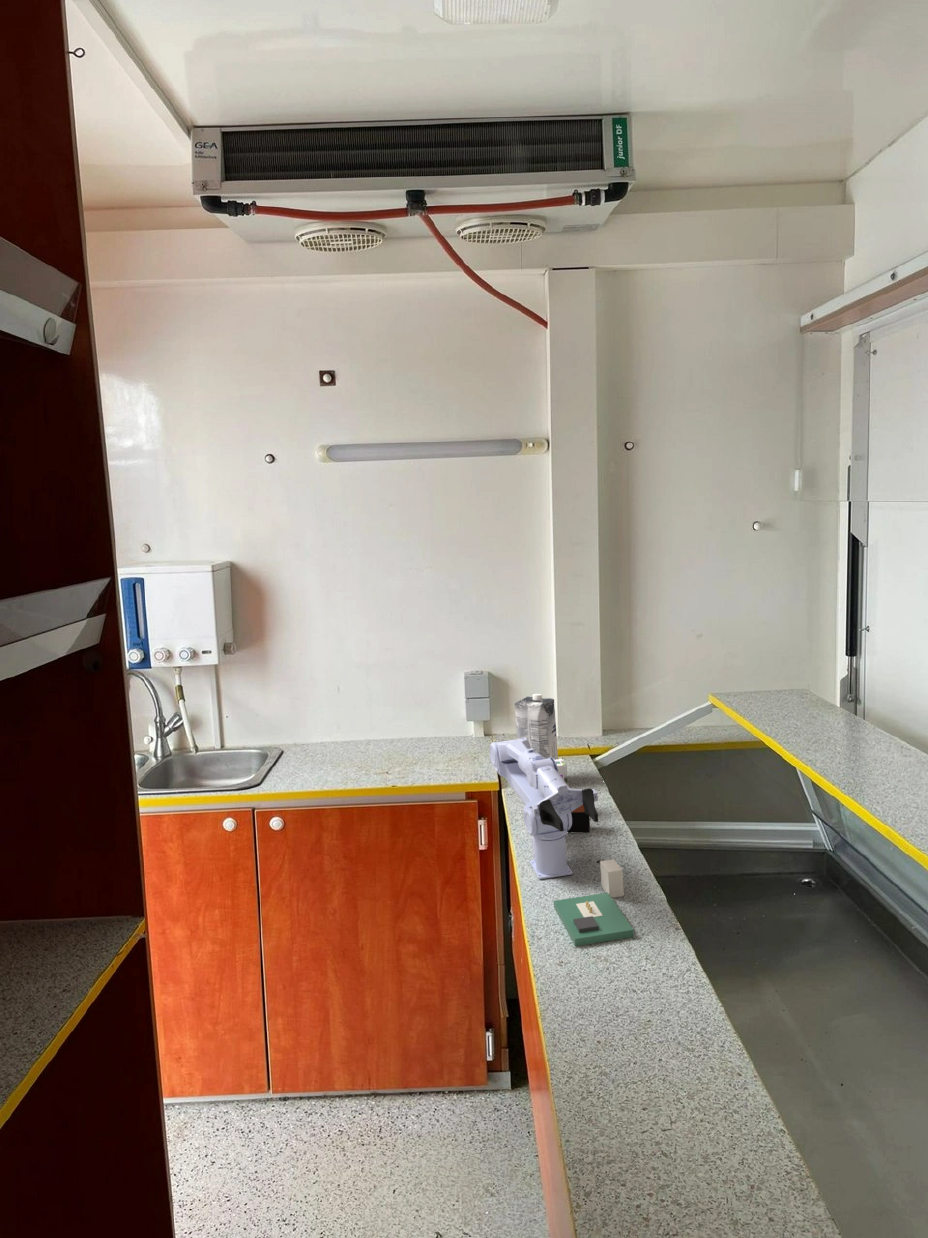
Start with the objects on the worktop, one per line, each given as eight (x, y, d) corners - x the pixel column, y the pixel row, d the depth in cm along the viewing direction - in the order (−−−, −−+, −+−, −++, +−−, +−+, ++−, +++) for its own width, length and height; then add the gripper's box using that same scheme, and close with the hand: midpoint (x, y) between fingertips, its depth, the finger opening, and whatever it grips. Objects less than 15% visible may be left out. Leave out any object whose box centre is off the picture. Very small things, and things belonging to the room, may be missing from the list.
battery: (590, 833, 223) (588, 795, 221) (563, 834, 224) (561, 796, 222) (590, 826, 227) (588, 789, 225) (563, 827, 228) (561, 790, 226)
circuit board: (553, 907, 187) (553, 895, 186) (608, 899, 188) (607, 887, 188) (575, 946, 171) (574, 933, 171) (634, 936, 173) (633, 924, 172)
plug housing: (599, 883, 196) (597, 858, 195) (613, 881, 196) (611, 856, 195) (609, 898, 189) (608, 872, 188) (623, 896, 189) (622, 870, 188)
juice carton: (548, 792, 253) (542, 701, 248) (516, 787, 258) (510, 698, 254) (562, 781, 260) (557, 693, 255) (531, 777, 266) (525, 690, 261)
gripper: (523, 783, 191) (544, 814, 179) (585, 767, 194) (610, 797, 182) (526, 811, 194) (547, 844, 181) (587, 795, 196) (612, 826, 184)
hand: (579, 822), depth 181 cm, fingers open, 7 cm apart
